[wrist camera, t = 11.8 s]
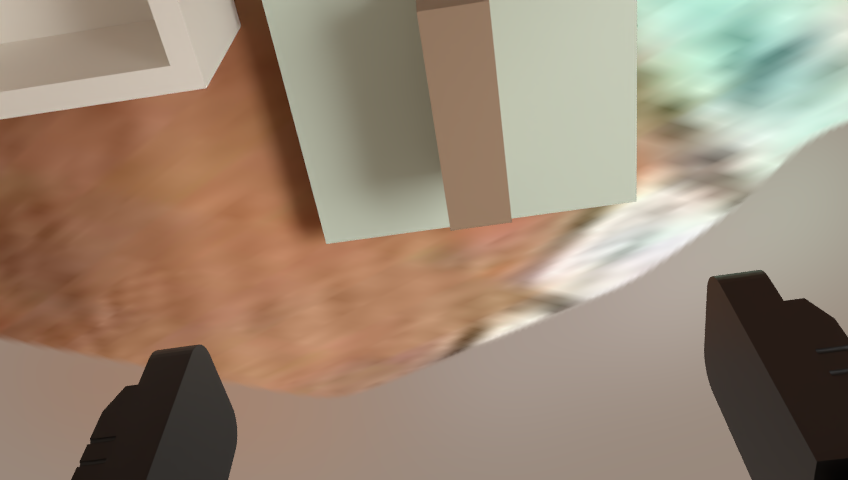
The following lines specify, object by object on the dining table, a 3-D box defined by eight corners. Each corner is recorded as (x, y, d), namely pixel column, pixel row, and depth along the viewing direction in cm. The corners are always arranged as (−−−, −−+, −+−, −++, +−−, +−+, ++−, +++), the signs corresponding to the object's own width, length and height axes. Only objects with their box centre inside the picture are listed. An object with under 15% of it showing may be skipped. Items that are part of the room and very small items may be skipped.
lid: (623, -154, 30) (677, -126, 24) (625, 179, 38) (666, 261, 32) (250, -92, 31) (212, -50, 25) (330, 220, 39) (316, 307, 33)
